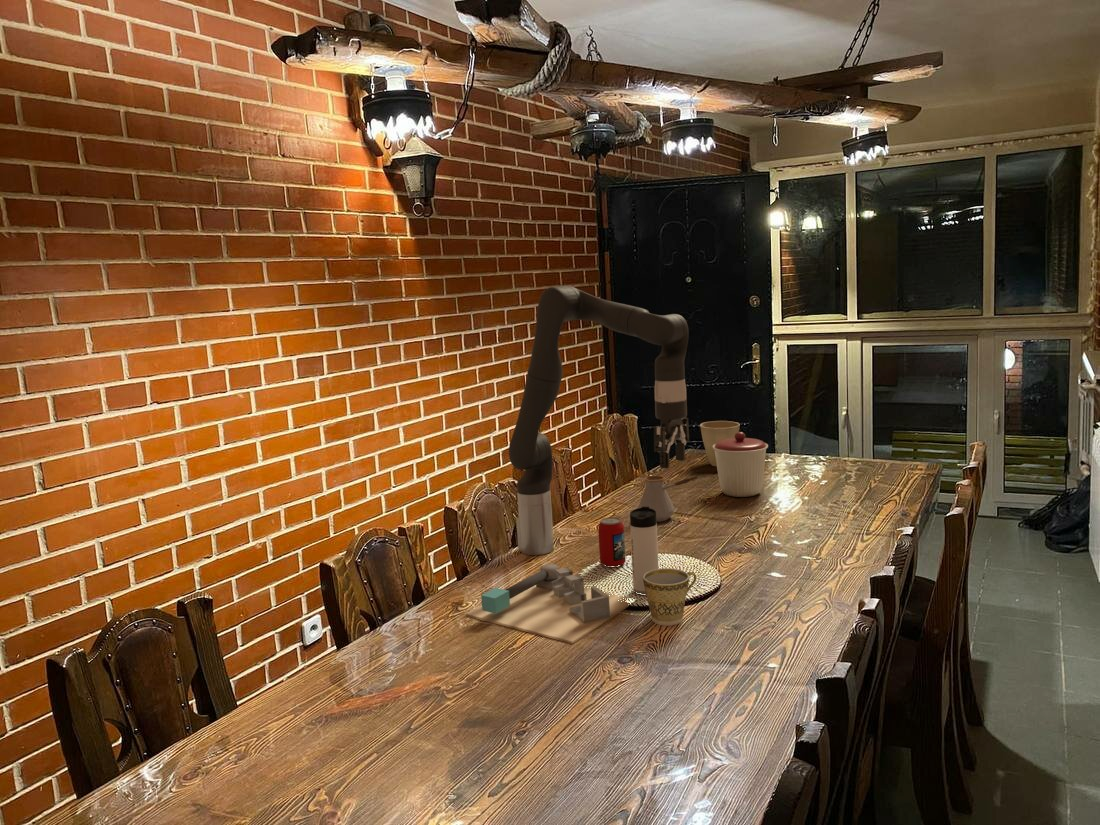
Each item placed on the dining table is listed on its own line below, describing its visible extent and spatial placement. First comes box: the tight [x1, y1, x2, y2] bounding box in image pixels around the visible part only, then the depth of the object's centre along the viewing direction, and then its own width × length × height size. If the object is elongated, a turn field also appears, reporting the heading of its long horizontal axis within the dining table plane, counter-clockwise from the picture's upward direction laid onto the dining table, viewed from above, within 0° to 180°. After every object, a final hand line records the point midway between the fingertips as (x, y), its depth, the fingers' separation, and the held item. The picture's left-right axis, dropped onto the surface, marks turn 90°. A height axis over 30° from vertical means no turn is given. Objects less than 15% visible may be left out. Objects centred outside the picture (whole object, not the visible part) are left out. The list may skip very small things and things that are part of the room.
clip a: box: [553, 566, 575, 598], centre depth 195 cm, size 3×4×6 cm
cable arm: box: [480, 563, 559, 614], centre depth 193 cm, size 25×4×4 cm, turn 143°
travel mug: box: [629, 506, 660, 594], centre depth 194 cm, size 6×7×20 cm
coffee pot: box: [637, 475, 702, 523], centre depth 250 cm, size 21×12×15 cm, turn 53°
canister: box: [713, 431, 769, 498], centre depth 274 cm, size 18×18×21 cm
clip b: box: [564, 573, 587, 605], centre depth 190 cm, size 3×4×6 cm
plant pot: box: [699, 420, 741, 467], centre depth 317 cm, size 15×15×16 cm
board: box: [465, 576, 633, 645], centre depth 189 cm, size 30×26×2 cm
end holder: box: [570, 585, 611, 624], centre depth 182 cm, size 7×7×5 cm
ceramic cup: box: [643, 567, 697, 627], centre depth 179 cm, size 13×10×10 cm
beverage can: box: [598, 516, 626, 567], centre depth 214 cm, size 7×7×12 cm
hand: (672, 464), depth 199 cm, fingers open, 8 cm apart
